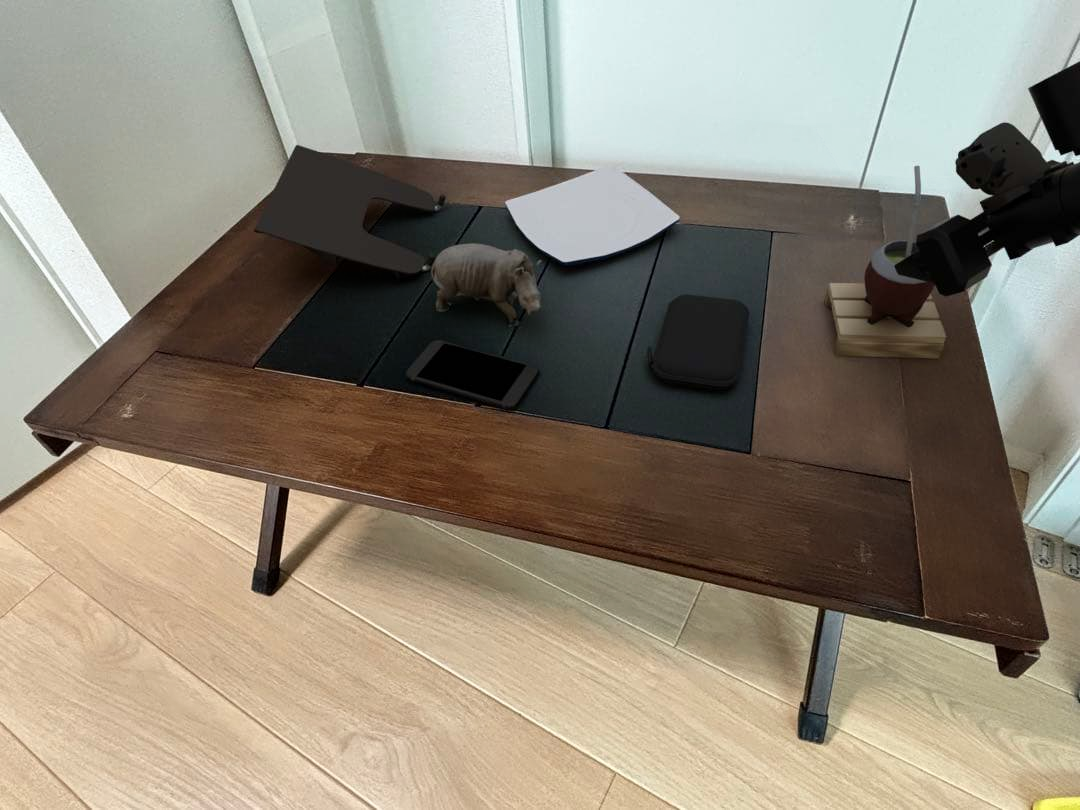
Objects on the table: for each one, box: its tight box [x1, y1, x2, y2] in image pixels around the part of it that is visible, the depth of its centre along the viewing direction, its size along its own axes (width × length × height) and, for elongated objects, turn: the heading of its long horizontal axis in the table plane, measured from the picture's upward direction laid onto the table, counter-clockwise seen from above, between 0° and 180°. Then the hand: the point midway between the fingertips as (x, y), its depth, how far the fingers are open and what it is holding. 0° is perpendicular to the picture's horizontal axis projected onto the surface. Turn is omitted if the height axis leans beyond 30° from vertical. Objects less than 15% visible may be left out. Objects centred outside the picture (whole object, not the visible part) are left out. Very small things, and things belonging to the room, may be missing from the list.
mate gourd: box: [863, 165, 936, 327], centre depth 76 cm, size 8×8×15 cm
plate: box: [504, 164, 681, 267], centre depth 103 cm, size 20×20×3 cm
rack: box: [823, 282, 947, 360], centre depth 83 cm, size 11×10×3 cm
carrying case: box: [646, 293, 750, 391], centre depth 83 cm, size 11×3×15 cm
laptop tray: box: [253, 144, 447, 279], centre depth 104 cm, size 23×23×9 cm
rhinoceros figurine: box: [430, 242, 543, 328], centre depth 90 cm, size 8×14×15 cm
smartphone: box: [405, 339, 540, 410], centre depth 84 cm, size 7×15×1 cm, turn 64°
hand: (926, 252), depth 74 cm, fingers open, 9 cm apart
